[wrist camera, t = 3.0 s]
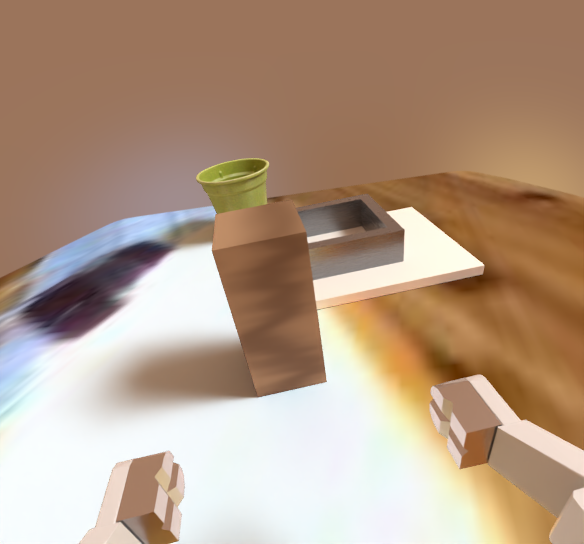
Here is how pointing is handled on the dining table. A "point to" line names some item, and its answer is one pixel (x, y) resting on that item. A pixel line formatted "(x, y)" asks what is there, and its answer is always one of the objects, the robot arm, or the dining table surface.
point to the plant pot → (235, 184)
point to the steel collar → (351, 236)
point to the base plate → (399, 264)
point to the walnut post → (271, 294)
